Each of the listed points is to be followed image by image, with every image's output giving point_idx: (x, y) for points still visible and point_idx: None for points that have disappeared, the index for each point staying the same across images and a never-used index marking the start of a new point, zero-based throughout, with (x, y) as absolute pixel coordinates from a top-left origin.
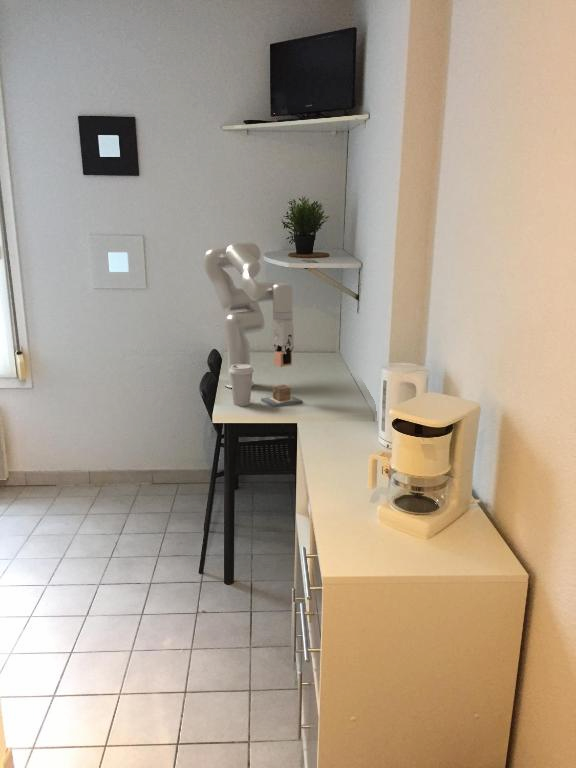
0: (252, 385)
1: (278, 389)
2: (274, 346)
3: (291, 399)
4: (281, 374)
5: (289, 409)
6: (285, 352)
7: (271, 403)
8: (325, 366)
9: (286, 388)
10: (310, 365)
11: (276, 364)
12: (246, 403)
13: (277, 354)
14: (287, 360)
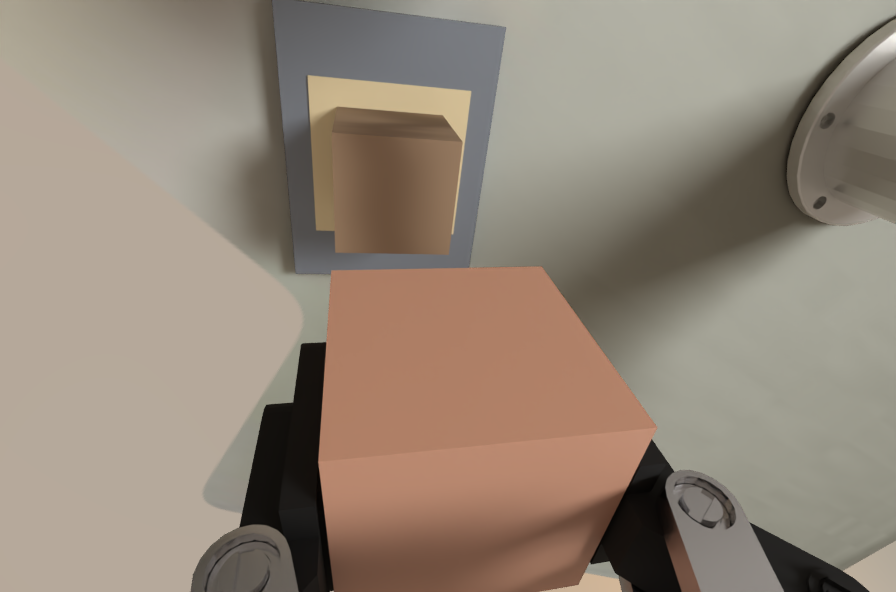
0: (793, 183)
1: (346, 132)
2: (827, 565)
3: None
4: (784, 409)
5: (157, 88)
6: (205, 587)
7: (318, 8)
8: None
9: (334, 213)
10: (756, 523)
11: (474, 275)
12: None
13: (482, 413)
14: (267, 432)
